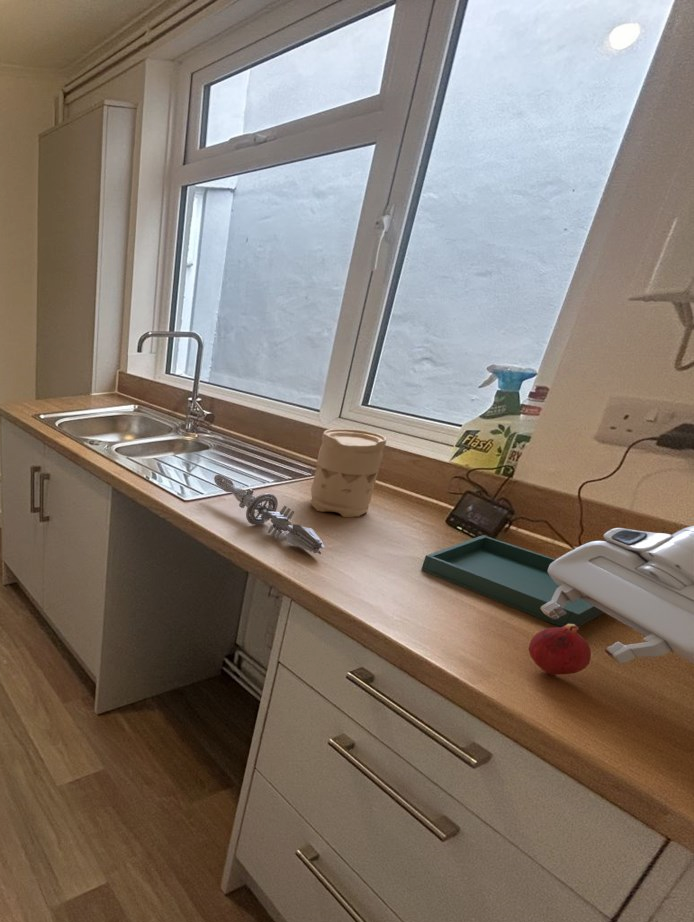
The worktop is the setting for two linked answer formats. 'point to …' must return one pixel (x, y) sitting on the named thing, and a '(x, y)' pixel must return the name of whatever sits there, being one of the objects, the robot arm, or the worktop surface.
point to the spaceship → (272, 516)
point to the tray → (506, 577)
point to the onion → (560, 650)
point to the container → (346, 471)
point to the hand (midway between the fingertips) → (577, 634)
